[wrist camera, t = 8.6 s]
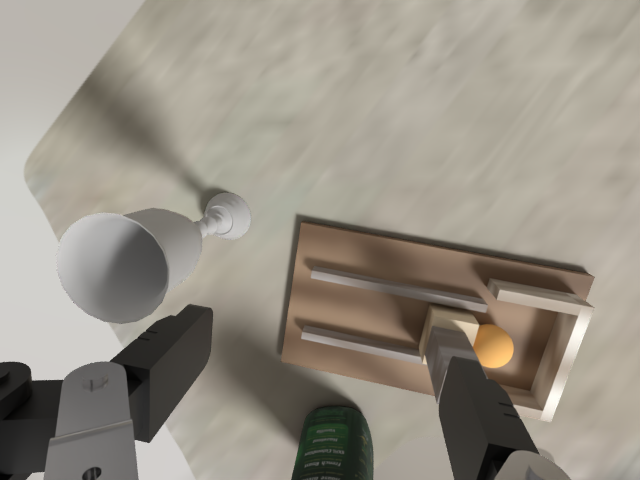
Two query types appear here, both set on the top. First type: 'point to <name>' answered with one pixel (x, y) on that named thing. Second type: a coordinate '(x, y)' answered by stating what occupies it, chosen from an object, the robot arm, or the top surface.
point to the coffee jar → (334, 446)
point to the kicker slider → (446, 341)
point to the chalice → (139, 256)
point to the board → (412, 306)
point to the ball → (493, 346)
